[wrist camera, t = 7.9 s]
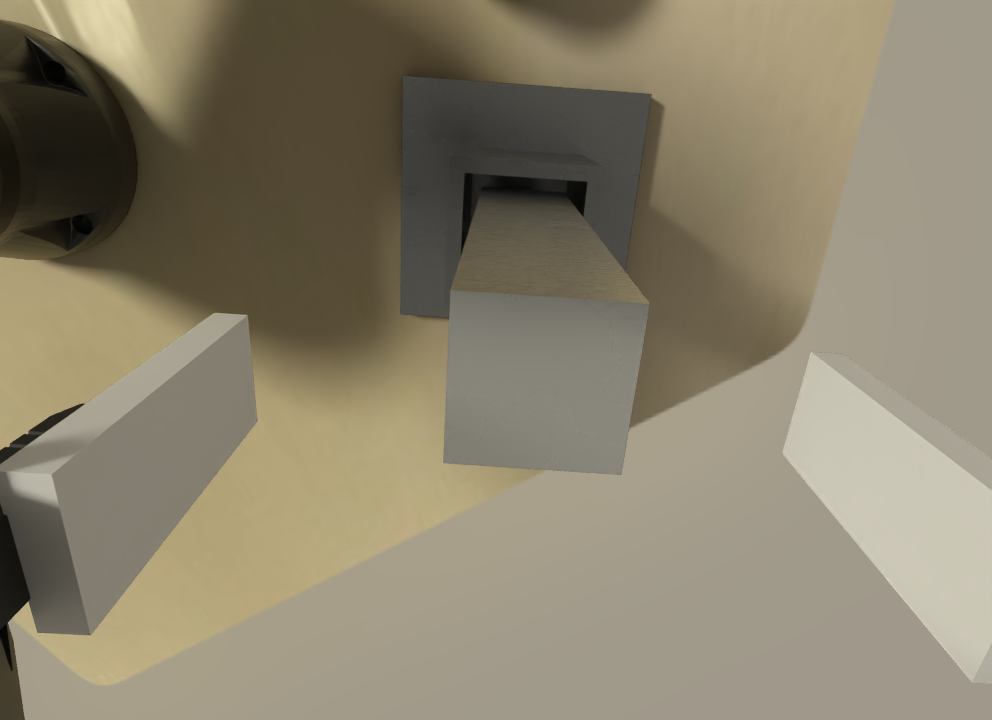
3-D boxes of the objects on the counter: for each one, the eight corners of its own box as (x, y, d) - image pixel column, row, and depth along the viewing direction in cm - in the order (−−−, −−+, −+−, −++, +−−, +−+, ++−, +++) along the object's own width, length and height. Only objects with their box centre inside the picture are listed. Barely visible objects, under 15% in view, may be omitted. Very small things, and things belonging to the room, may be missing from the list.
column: (477, 276, 36) (442, 482, 16) (482, 186, 34) (450, 289, 14) (554, 281, 36) (618, 494, 16) (563, 192, 34) (650, 303, 14)
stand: (402, 309, 46) (373, 366, 36) (405, 76, 40) (370, 63, 30) (613, 323, 46) (645, 384, 36) (647, 94, 40) (697, 87, 30)
